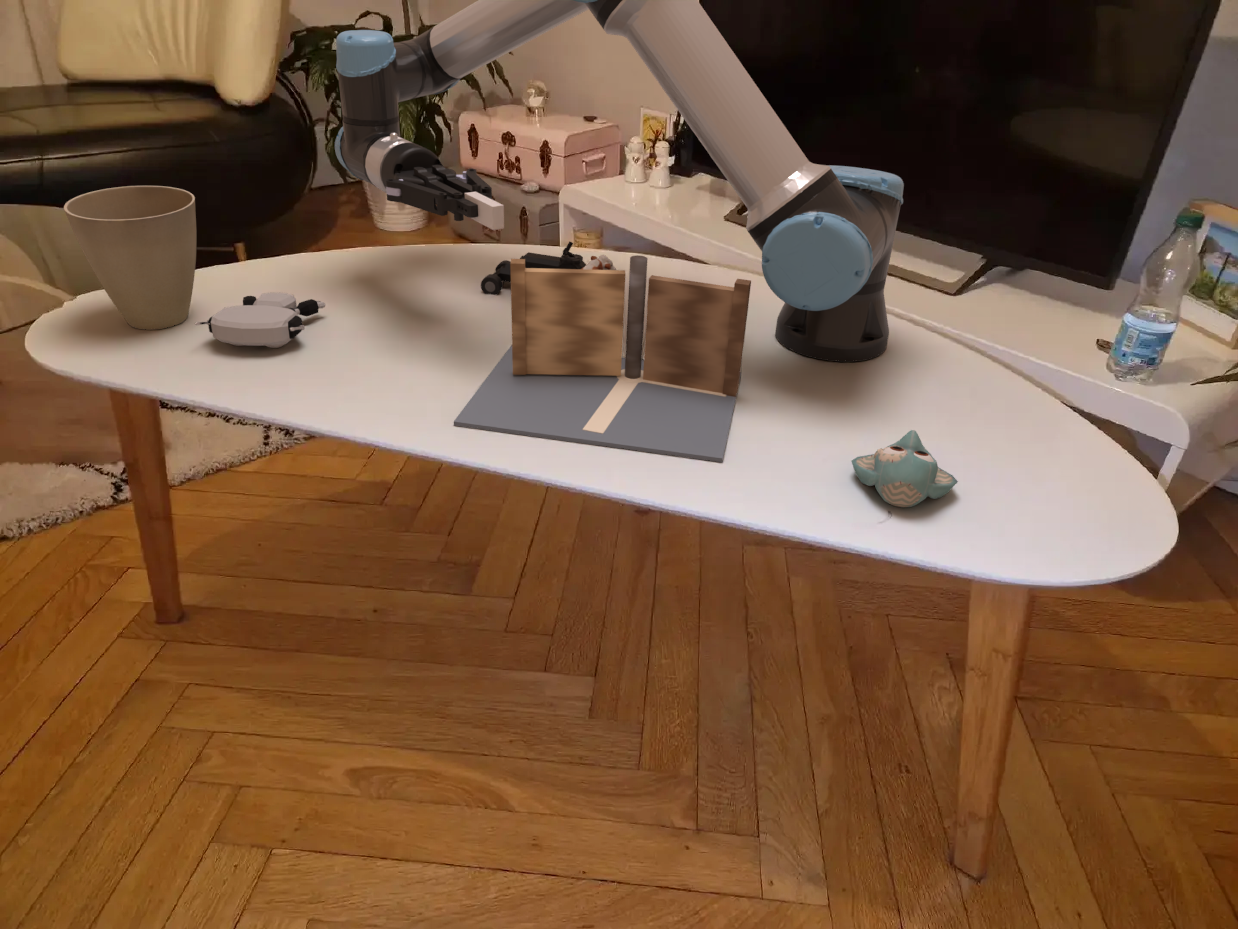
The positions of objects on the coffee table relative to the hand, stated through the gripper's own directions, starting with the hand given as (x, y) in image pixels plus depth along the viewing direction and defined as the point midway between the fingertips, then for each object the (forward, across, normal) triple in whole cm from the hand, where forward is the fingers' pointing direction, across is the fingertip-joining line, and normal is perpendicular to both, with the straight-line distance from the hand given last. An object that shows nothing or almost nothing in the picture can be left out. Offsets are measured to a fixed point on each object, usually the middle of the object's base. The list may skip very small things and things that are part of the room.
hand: (498, 217), depth 108 cm
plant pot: (-36, -31, +19) cm, 52 cm away
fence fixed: (+18, +15, +18) cm, 29 cm away
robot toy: (-24, -21, +19) cm, 37 cm away
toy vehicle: (-20, +18, +19) cm, 33 cm away
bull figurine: (-6, +18, +19) cm, 26 cm away
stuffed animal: (+47, +19, +19) cm, 54 cm away
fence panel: (+8, +5, +18) cm, 20 cm away
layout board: (+15, +5, +18) cm, 24 cm away
